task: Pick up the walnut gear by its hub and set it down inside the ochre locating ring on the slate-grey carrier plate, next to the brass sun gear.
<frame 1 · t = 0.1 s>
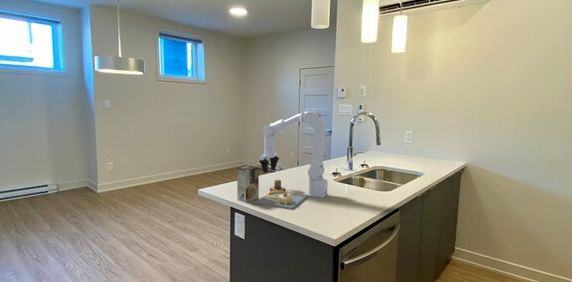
hand: (269, 171, 174), 10 cm above the worktop, tool pointing down, fingers open, 7 cm apart
carrier plate: (281, 200, 154), on the worktop
planet gear: (277, 190, 171), on the worktop
coffee box: (247, 199, 155), on the worktop
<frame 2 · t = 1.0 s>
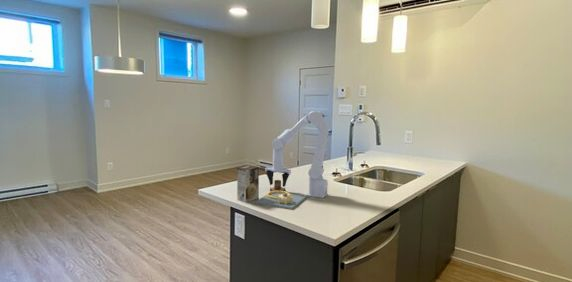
hand: (277, 185, 170), 3 cm above the worktop, tool pointing down, fingers open, 7 cm apart
nothing on the worktop moved.
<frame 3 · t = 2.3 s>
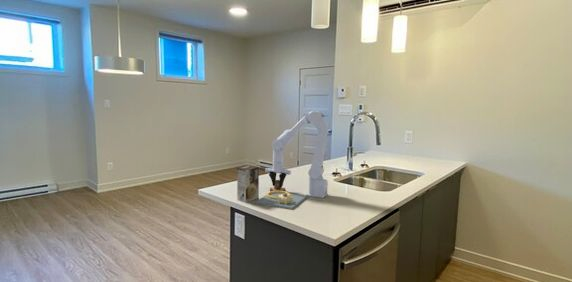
hand: (277, 186, 170), 3 cm above the worktop, tool pointing down, fingers closed on planet gear, 4 cm apart
planet gear: (277, 190, 171), on the worktop, touching gripper
everything else where it was.
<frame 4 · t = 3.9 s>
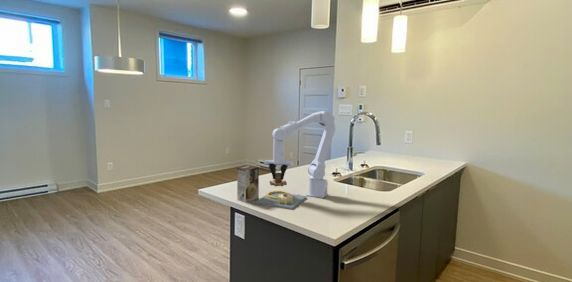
hand: (278, 179, 158), 9 cm above the worktop, tool pointing down, fingers closed on planet gear, 4 cm apart
planet gear: (278, 184, 158), point 7 cm above the worktop, touching gripper
everything else where it was.
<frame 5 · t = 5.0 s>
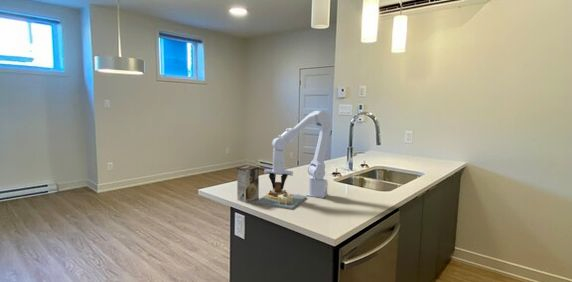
hand: (278, 188, 158), 5 cm above the worktop, tool pointing down, fingers closed on planet gear, 4 cm apart
planet gear: (278, 193, 158), point 2 cm above the worktop, touching gripper
everything else where it was.
when the fingers open (5 cm above the worktop, at t = 5.6 s): planet gear drops 1 cm, resting on carrier plate.
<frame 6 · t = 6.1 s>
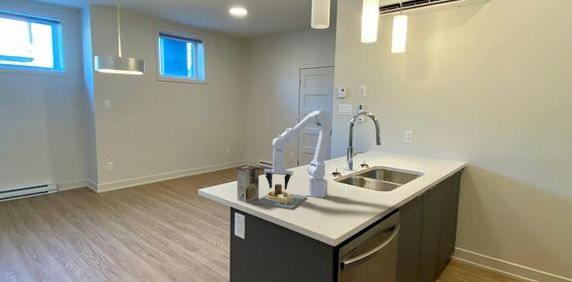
hand: (278, 188, 158), 5 cm above the worktop, tool pointing down, fingers open, 7 cm apart
planet gear: (278, 195, 158), point 1 cm above the worktop, touching carrier plate
everything else where it was.
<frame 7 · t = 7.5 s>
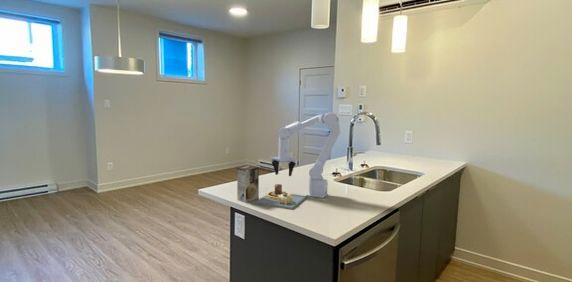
hand: (283, 175, 167), 9 cm above the worktop, tool pointing down, fingers open, 7 cm apart
nothing on the worktop moved.
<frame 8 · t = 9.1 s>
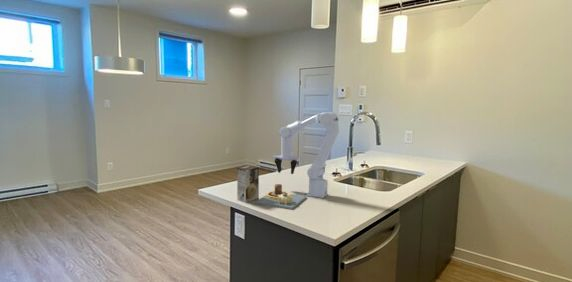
hand: (285, 173, 172), 9 cm above the worktop, tool pointing down, fingers open, 7 cm apart
nothing on the worktop moved.
at the end: planet gear 0.1 cm from the target spot on the carrier plate, point 1.0 cm above the carrier plate's base; planet gear tilted 0°; the gripper is holding nothing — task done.
